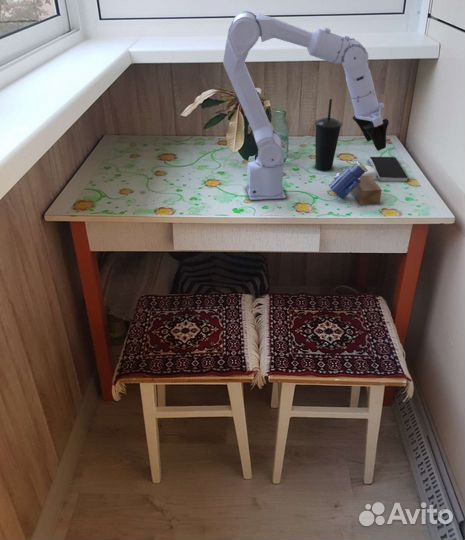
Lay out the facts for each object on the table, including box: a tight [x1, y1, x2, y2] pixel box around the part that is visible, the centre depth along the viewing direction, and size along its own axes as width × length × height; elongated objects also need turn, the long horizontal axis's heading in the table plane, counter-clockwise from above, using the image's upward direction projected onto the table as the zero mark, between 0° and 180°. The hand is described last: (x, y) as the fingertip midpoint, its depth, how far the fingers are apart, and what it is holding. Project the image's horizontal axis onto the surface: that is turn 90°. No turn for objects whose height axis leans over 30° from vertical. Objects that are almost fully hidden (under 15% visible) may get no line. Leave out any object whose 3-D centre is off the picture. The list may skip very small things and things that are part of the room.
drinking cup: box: [314, 98, 343, 172], centre depth 144 cm, size 8×8×20 cm
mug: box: [328, 160, 368, 200], centre depth 129 cm, size 9×7×10 cm
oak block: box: [350, 176, 382, 206], centre depth 132 cm, size 5×9×4 cm, turn 6°
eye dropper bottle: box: [332, 164, 377, 181], centre depth 141 cm, size 4×6×12 cm
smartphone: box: [368, 156, 409, 182], centre depth 147 cm, size 8×1×15 cm
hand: (376, 144), depth 127 cm, fingers open, 7 cm apart
